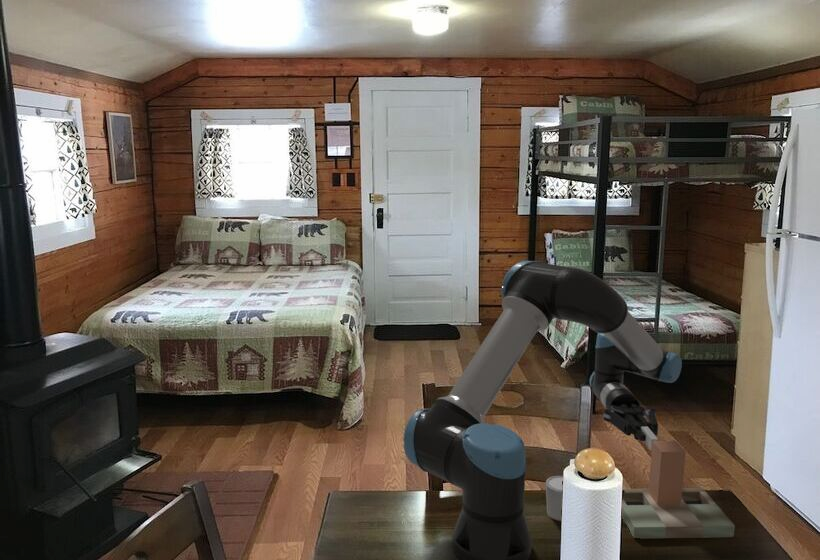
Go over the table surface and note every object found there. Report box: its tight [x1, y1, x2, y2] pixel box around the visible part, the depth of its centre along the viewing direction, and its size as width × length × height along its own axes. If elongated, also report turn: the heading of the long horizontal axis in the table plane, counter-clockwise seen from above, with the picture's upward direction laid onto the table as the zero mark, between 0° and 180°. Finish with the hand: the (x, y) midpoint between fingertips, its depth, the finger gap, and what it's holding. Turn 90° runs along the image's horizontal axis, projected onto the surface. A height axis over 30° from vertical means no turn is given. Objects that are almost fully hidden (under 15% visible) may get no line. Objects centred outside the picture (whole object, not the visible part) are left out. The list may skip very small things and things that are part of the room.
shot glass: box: [545, 475, 563, 522], centre depth 142 cm, size 7×7×7 cm
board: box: [621, 487, 736, 539], centre depth 141 cm, size 14×20×2 cm
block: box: [647, 440, 687, 505], centre depth 143 cm, size 5×5×12 cm
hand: (654, 444), depth 150 cm, fingers closed
